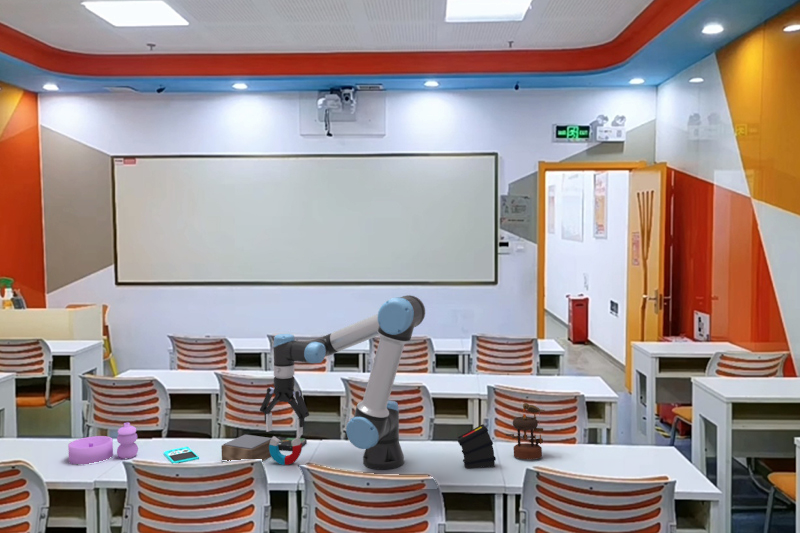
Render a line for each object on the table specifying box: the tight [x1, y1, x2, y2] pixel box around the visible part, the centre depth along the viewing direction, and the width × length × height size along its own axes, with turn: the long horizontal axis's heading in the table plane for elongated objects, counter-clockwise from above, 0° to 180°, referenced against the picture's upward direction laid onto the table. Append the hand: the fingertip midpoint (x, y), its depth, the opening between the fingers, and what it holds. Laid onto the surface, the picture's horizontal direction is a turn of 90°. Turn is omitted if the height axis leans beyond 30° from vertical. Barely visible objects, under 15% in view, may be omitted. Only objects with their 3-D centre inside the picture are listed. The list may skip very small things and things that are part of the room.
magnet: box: [269, 435, 303, 466], centre depth 234 cm, size 12×3×10 cm, turn 84°
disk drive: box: [275, 436, 308, 452], centre depth 254 cm, size 10×3×15 cm
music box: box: [505, 402, 546, 460], centre depth 238 cm, size 15×11×20 cm
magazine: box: [457, 423, 497, 469], centre depth 228 cm, size 4×13×15 cm, turn 96°
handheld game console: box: [163, 446, 200, 464], centre depth 244 cm, size 10×16×1 cm, turn 34°
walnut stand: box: [221, 434, 272, 461], centre depth 241 cm, size 14×14×6 cm
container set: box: [67, 422, 139, 465], centre depth 243 cm, size 25×15×13 cm, turn 95°
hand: (284, 433), depth 233 cm, fingers open, 13 cm apart
